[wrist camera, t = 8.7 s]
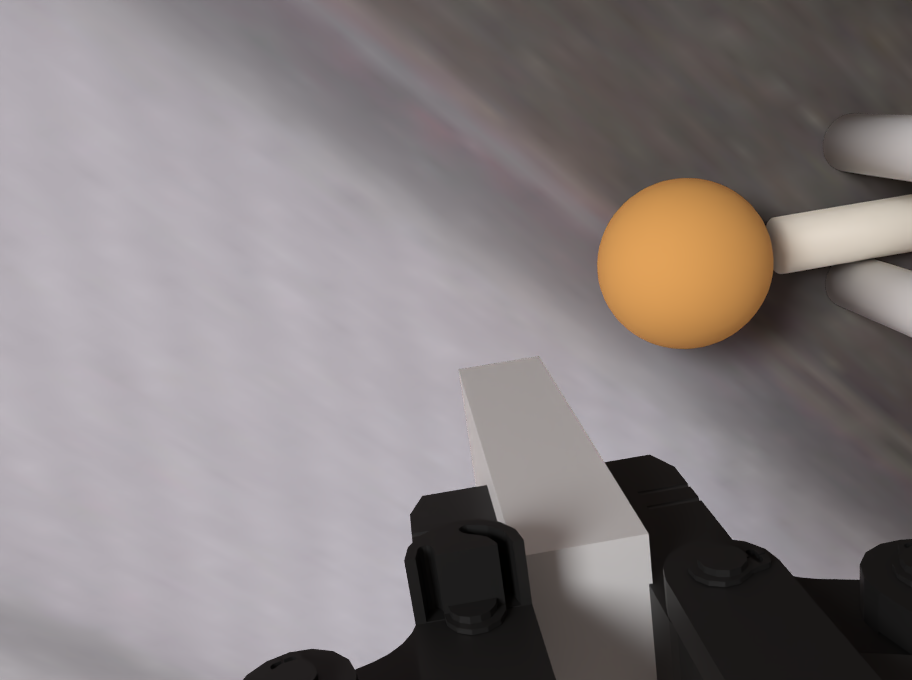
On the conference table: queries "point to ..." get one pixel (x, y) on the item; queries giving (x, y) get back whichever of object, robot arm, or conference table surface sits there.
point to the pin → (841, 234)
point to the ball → (685, 263)
